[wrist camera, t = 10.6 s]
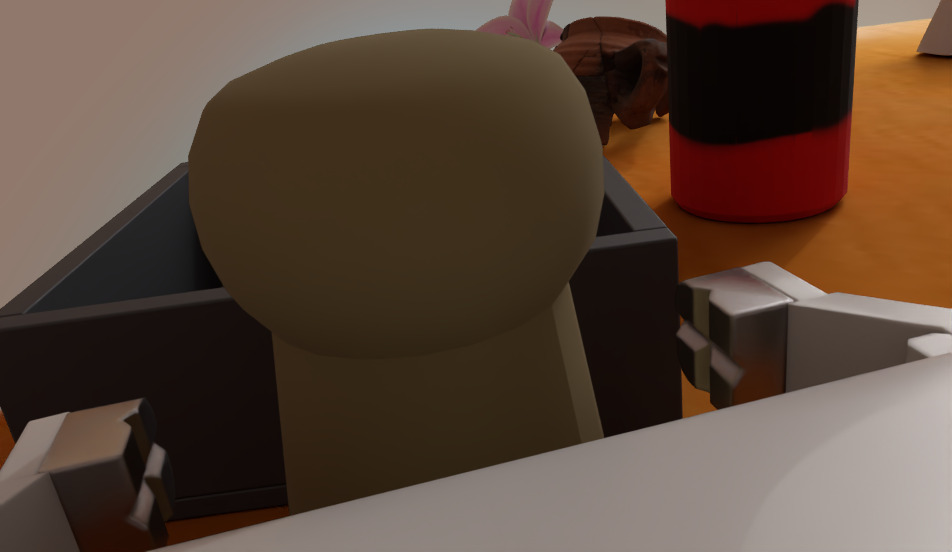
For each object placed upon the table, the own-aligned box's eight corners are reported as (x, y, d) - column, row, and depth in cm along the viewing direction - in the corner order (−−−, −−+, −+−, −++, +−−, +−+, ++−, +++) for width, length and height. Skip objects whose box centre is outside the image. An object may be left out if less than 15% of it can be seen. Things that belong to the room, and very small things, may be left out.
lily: (480, 95, 78) (433, 14, 72) (585, 32, 76) (545, -56, 70) (510, 155, 69) (459, 69, 63) (630, 86, 67) (589, -10, 61)
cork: (251, 695, 14) (52, 78, 10) (498, 525, 18) (427, 12, 13) (460, 993, 10) (260, 103, 6) (738, 688, 13) (742, -6, 9)
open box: (214, 289, 34) (180, 162, 31) (575, 241, 34) (564, 111, 32) (52, 537, 19) (-32, 333, 17) (684, 451, 19) (678, 237, 17)
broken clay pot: (502, 145, 54) (525, 29, 54) (614, 178, 58) (635, 70, 58) (598, 120, 43) (626, -24, 43) (729, 164, 47) (753, 31, 47)
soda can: (779, 165, 40) (786, -91, 36) (887, 203, 33) (911, -109, 29) (643, 192, 39) (632, -71, 34) (726, 237, 32) (726, -85, 27)
